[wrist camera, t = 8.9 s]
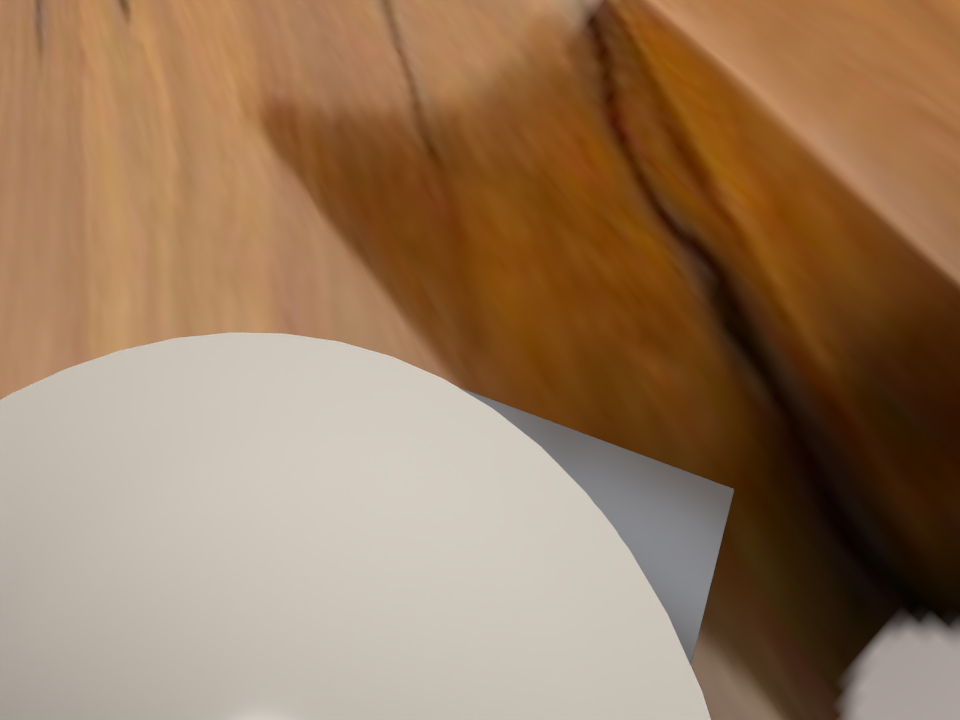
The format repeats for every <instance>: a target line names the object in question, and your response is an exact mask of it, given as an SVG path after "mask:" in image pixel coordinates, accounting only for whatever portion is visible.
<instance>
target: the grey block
mask: <svg viewBox="0 0 960 720" xmlns="http://www.w3.org/2000/svg"><path fill="white" fill-rule="evenodd" d="M460 389H461V388H460ZM461 390H463V391H465V392H466V393H468V394H470V395H471V396H473V397H475V398H476V399H478V400H480V401H481V402H483V403H485V404H486V405H488V406H490V407H491V408H493V409H494V410H495V411H497V412H498V413H499V414H501V415H502V416H503V417H504V418H506V419H507V420H508V421H509V422H511V423H512V424H513V425H514V426H516V427H517V428H518V429H520V430H521V431H522V432H523V433H525V434H526V435H527V436H528V437H530V438H531V439H532V440H533V441H535V442H536V443H537V444H538V445H540V446H541V447H542V448H543V449H544V450H545V451H546V452H547V453H548V454H549V455H550V456H551V457H552V458H553V459H554V460H555V461H556V462H557V463H558V464H559V465H560V466H561V467H562V468H563V470H564V471H565V472H566V473H567V474H568V475H569V476H570V477H571V478H572V479H573V480H574V481H575V482H576V483H577V484H578V485H579V486H580V487H581V488H582V489H583V490H584V491H585V492H586V493H587V494H588V496H589V497H590V498H591V500H592V501H593V502H594V504H595V505H596V506H597V507H598V508H599V509H600V510H601V511H602V513H603V514H604V515H605V517H606V518H607V519H608V520H609V522H610V523H611V524H612V526H613V527H614V528H615V530H616V531H617V533H618V534H619V536H620V538H621V539H622V540H623V542H624V543H625V544H626V546H627V547H628V548H629V550H630V551H631V553H632V555H633V556H634V558H635V560H636V561H637V563H638V565H639V567H640V568H641V570H642V572H643V573H644V575H645V577H646V578H647V580H648V582H649V584H650V585H651V587H652V589H653V590H654V592H655V594H656V595H657V597H658V599H659V600H660V602H661V604H662V606H663V607H664V609H665V611H666V612H667V614H668V616H669V618H670V621H671V623H672V625H673V627H674V630H675V632H676V634H677V636H678V639H679V641H680V643H681V645H682V648H683V650H684V652H685V654H686V657H687V659H688V661H689V663H690V666H691V662H692V658H693V654H694V650H695V646H696V641H697V637H698V633H699V629H700V625H701V621H702V617H703V613H704V609H705V605H706V601H707V597H708V593H709V589H710V585H711V581H712V577H713V573H714V569H715V565H716V560H717V556H718V552H719V548H720V544H721V540H722V536H723V532H724V528H725V524H726V520H727V516H728V512H729V508H730V504H731V500H732V496H733V492H734V489H732V488H729V487H727V486H724V485H721V484H719V483H716V482H713V481H711V480H708V479H705V478H702V477H700V476H697V475H694V474H692V473H689V472H686V471H683V470H681V469H678V468H675V467H673V466H670V465H667V464H664V463H662V462H659V461H656V460H654V459H651V458H648V457H645V456H643V455H640V454H637V453H635V452H632V451H629V450H626V449H624V448H621V447H618V446H616V445H613V444H610V443H608V442H605V441H602V440H599V439H597V438H594V437H591V436H589V435H586V434H583V433H580V432H578V431H575V430H572V429H570V428H567V427H564V426H561V425H559V424H556V423H553V422H551V421H548V420H545V419H542V418H540V417H537V416H534V415H532V414H529V413H526V412H523V411H521V410H518V409H515V408H513V407H510V406H507V405H505V404H502V403H499V402H496V401H494V400H491V399H488V398H486V397H483V396H480V395H477V394H475V393H472V392H469V391H467V390H464V389H461Z"/></svg>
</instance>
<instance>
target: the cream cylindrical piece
mask: <svg viewBox="0 0 960 720" xmlns="http://www.w3.org/2000/svg"><path fill="white" fill-rule="evenodd" d="M0 720H711V718H710V715H709V712H708V709H707V706H706V703H705V700H704V696H703V693H702V690H701V688H700V686H699V684H698V681H697V679H696V677H695V675H694V672H693V670H692V668H691V666H690V663H689V661H688V659H687V657H686V654H685V652H684V650H683V648H682V645H681V643H680V641H679V639H678V636H677V634H676V632H675V630H674V627H673V625H672V623H671V621H670V618H669V616H668V614H667V612H666V611H665V609H664V607H663V606H662V604H661V602H660V600H659V599H658V597H657V595H656V594H655V592H654V590H653V589H652V587H651V585H650V584H649V582H648V580H647V578H646V577H645V575H644V573H643V572H642V570H641V568H640V567H639V565H638V563H637V561H636V560H635V558H634V556H633V555H632V553H631V551H630V550H629V548H628V547H627V546H626V544H625V543H624V542H623V540H622V539H621V538H620V536H619V534H618V533H617V531H616V530H615V528H614V527H613V526H612V524H611V523H610V522H609V520H608V519H607V518H606V517H605V515H604V514H603V513H602V511H601V510H600V509H599V508H598V507H597V506H596V505H595V504H594V502H593V501H592V500H591V498H590V497H589V496H588V494H587V493H586V492H585V491H584V490H583V489H582V488H581V487H580V486H579V485H578V484H577V483H576V482H575V481H574V480H573V479H572V478H571V477H570V476H569V475H568V474H567V473H566V472H565V471H564V470H563V468H562V467H561V466H560V465H559V464H558V463H557V462H556V461H555V460H554V459H553V458H552V457H551V456H550V455H549V454H548V453H547V452H546V451H545V450H544V449H543V448H542V447H541V446H540V445H538V444H537V443H536V442H535V441H533V440H532V439H531V438H530V437H528V436H527V435H526V434H525V433H523V432H522V431H521V430H520V429H518V428H517V427H516V426H514V425H513V424H512V423H511V422H509V421H508V420H507V419H506V418H504V417H503V416H502V415H501V414H499V413H498V412H497V411H495V410H494V409H493V408H491V407H490V406H488V405H486V404H485V403H483V402H481V401H480V400H478V399H476V398H475V397H473V396H471V395H470V394H468V393H466V392H465V391H463V390H461V389H460V388H458V387H456V386H454V385H453V384H451V383H449V382H448V381H446V380H444V379H443V378H440V377H438V376H436V375H433V374H431V373H429V372H426V371H424V370H422V369H420V368H417V367H415V366H413V365H410V364H408V363H406V362H403V361H401V360H399V359H396V358H394V357H392V356H388V355H385V354H381V353H378V352H374V351H371V350H367V349H363V348H360V347H356V346H353V345H349V344H346V343H342V342H339V341H332V340H325V339H318V338H311V337H305V336H298V335H291V334H276V333H222V334H212V335H202V336H192V337H182V338H175V339H170V340H165V341H161V342H156V343H152V344H147V345H143V346H138V347H134V348H129V349H124V350H120V351H117V352H114V353H111V354H108V355H105V356H103V357H100V358H97V359H94V360H91V361H88V362H85V363H82V364H79V365H76V366H73V367H70V368H67V369H64V370H62V371H60V372H58V373H56V374H53V375H51V376H49V377H47V378H45V379H43V380H40V381H38V382H36V383H34V384H32V385H29V386H27V387H25V388H23V389H21V390H18V391H16V392H14V393H12V394H10V395H8V396H6V397H5V398H3V399H1V400H0Z"/></svg>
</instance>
